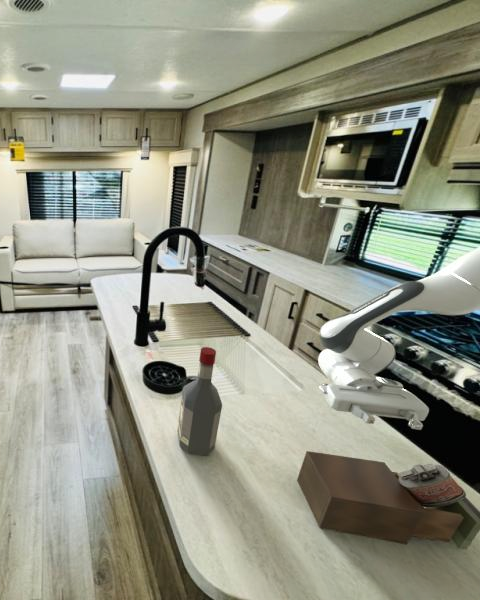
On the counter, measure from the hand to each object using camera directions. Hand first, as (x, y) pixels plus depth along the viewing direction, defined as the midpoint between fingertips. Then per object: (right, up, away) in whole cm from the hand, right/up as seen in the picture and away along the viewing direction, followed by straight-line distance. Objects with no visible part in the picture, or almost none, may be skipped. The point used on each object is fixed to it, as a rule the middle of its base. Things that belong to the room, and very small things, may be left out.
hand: (394, 424), depth 73 cm
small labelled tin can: (+1, -12, -9) cm, 14 cm away
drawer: (-2, -18, -6) cm, 19 cm away
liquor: (-41, -11, +15) cm, 46 cm away
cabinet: (-14, -18, -3) cm, 23 cm away
